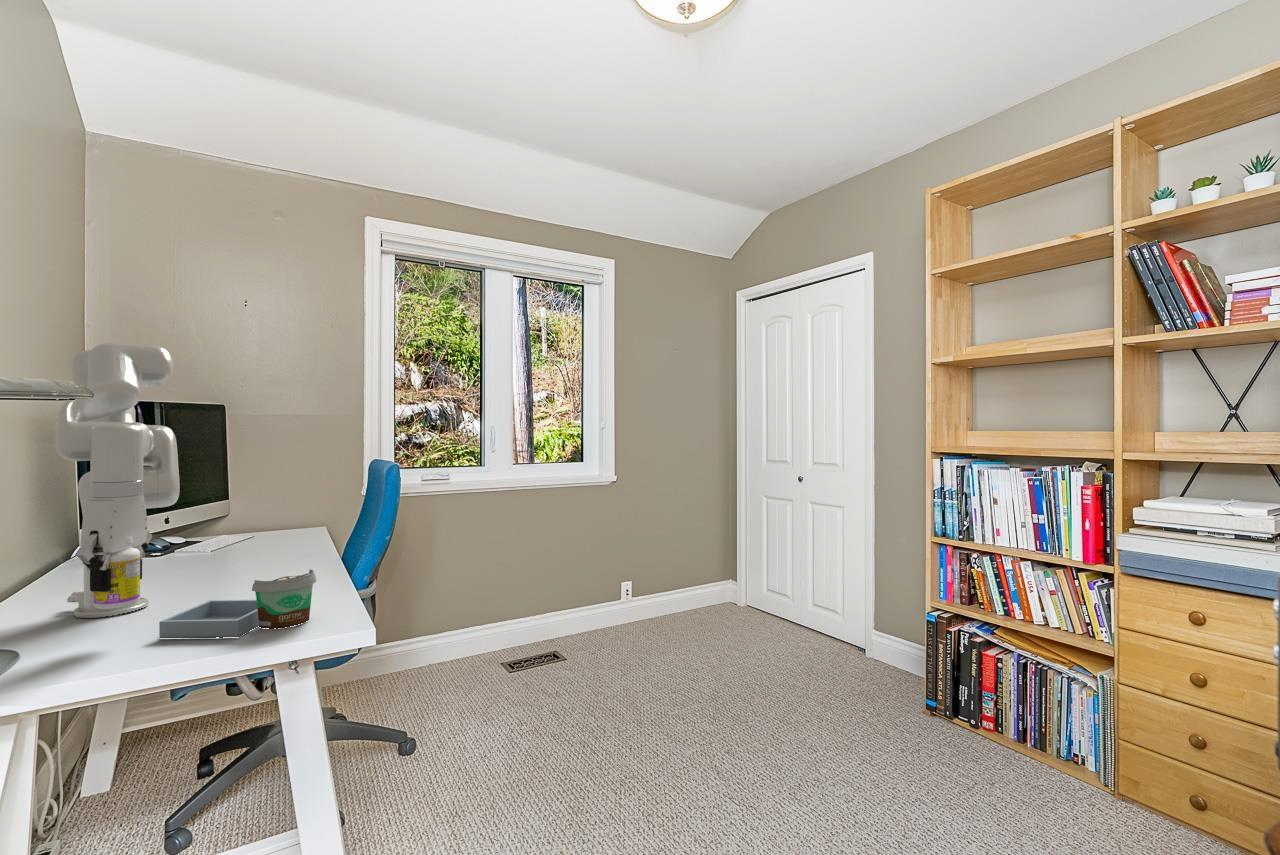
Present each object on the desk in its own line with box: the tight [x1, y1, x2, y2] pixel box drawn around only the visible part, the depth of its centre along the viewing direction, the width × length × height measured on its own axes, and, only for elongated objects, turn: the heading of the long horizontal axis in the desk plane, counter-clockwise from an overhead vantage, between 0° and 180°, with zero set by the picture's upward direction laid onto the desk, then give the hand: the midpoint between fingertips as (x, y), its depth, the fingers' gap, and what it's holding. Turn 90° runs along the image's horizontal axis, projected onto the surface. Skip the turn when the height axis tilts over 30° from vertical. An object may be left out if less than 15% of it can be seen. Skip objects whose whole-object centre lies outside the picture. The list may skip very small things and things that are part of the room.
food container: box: [251, 568, 317, 630], centre depth 126 cm, size 12×6×10 cm, turn 148°
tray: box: [158, 599, 259, 638], centre depth 124 cm, size 15×15×4 cm
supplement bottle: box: [93, 537, 141, 609], centre depth 114 cm, size 7×7×13 cm
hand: (116, 584), depth 114 cm, fingers closed on supplement bottle, 6 cm apart
